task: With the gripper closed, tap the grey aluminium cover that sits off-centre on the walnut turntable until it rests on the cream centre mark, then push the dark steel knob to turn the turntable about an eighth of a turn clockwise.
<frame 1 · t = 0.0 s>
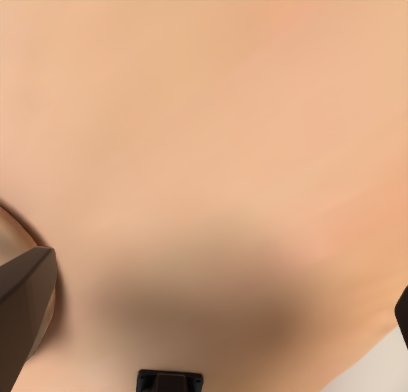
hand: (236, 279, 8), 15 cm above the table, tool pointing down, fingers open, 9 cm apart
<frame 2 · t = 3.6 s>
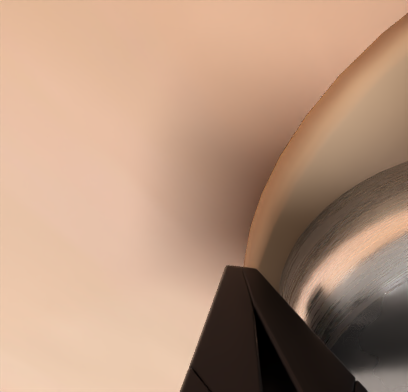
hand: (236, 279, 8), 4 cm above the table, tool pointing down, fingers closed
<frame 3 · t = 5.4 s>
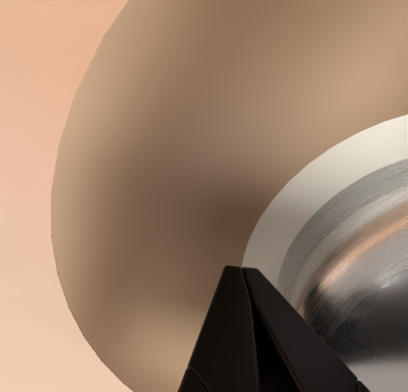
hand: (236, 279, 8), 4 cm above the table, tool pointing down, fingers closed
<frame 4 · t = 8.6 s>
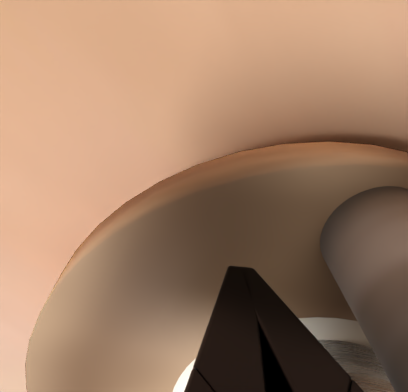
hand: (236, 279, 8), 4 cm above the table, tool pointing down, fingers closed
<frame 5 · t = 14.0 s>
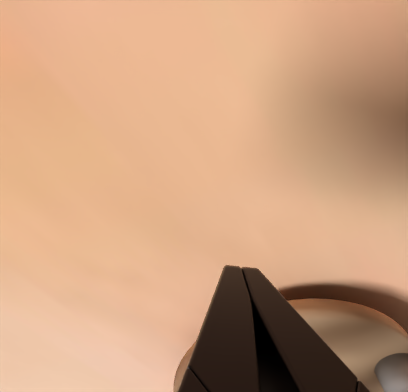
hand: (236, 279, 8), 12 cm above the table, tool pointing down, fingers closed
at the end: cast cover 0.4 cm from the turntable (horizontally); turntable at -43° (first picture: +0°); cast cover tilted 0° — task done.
